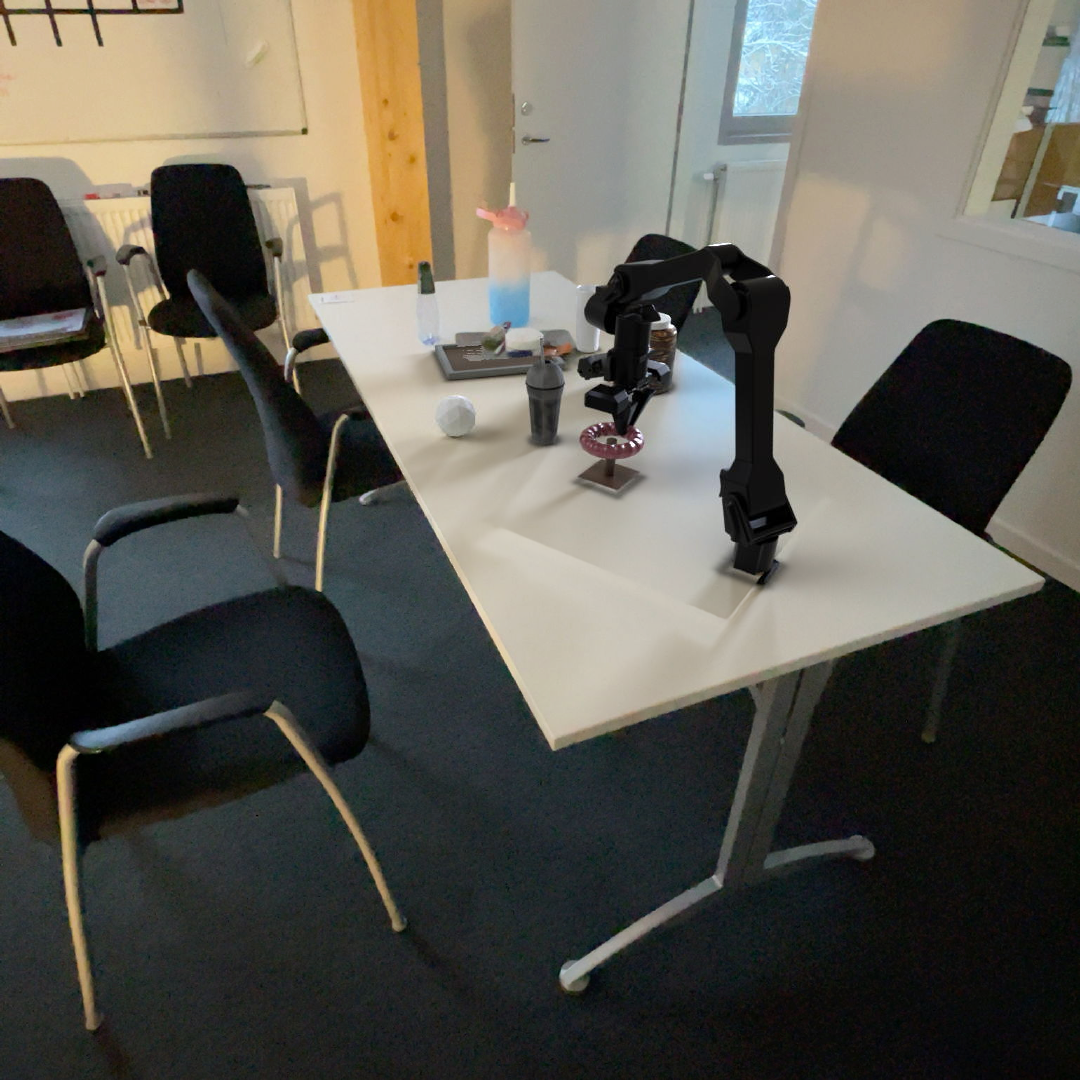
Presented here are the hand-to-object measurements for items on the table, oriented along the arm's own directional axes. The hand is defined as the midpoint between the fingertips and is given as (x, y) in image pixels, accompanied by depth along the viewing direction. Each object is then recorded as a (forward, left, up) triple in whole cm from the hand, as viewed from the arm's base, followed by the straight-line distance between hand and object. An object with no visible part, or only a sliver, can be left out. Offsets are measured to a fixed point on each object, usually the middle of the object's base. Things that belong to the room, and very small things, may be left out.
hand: (624, 432), depth 128 cm
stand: (-4, 0, -8) cm, 9 cm away
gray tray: (+31, +50, -8) cm, 59 cm away
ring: (-4, 0, 0) cm, 4 cm away
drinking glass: (+49, +38, -8) cm, 62 cm away
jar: (+38, +16, -8) cm, 42 cm away
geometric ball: (-6, +33, -8) cm, 35 cm away
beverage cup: (+2, +18, -8) cm, 20 cm away
